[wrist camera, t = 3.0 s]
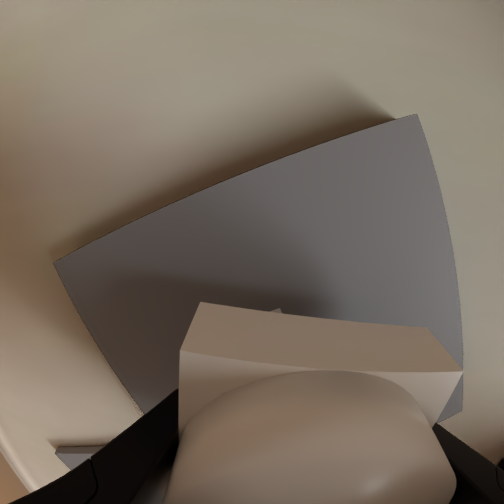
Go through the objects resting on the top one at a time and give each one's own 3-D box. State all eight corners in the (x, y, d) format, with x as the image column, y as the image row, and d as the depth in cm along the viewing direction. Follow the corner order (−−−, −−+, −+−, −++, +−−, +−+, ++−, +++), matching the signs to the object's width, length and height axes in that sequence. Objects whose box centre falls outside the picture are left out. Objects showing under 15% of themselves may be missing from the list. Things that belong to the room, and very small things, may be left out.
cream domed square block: (426, 327, 7) (518, 443, 3) (359, 465, 9) (383, 569, 5) (200, 301, 7) (139, 452, 3) (191, 455, 9) (166, 568, 5)
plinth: (448, 390, 12) (500, 472, 7) (212, 466, 14) (198, 556, 8) (397, 118, 9) (507, 94, 4) (75, 250, 11) (-28, 313, 5)
